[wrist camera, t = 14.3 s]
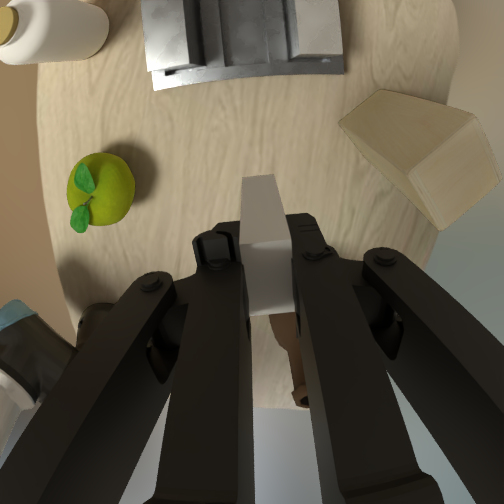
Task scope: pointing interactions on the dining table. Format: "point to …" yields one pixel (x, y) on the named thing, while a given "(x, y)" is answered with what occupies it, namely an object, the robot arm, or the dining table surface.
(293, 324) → the beer bottle
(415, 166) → the cream tall block
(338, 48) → the silver rectangular block
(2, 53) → the potion bottle
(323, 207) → the dining table surface
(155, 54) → the rack
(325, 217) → the dining table surface
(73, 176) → the fruit
